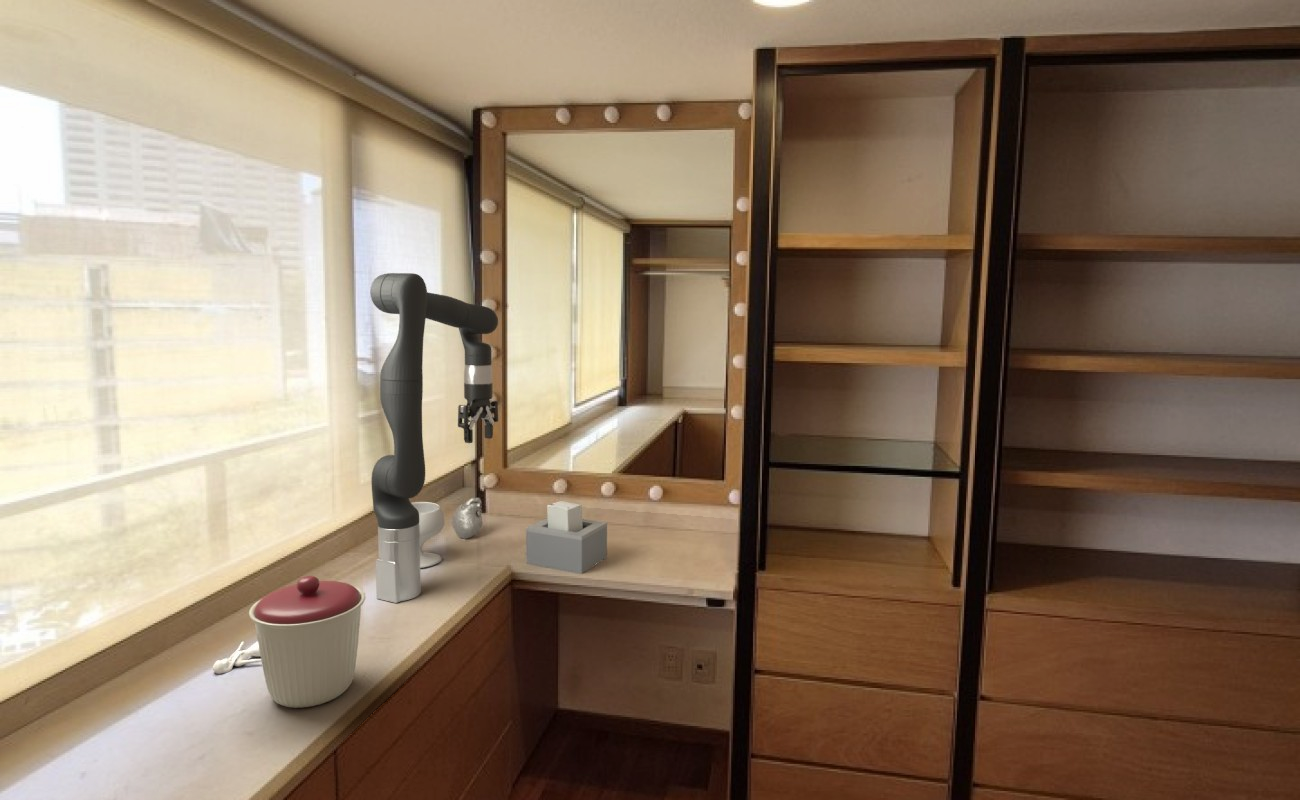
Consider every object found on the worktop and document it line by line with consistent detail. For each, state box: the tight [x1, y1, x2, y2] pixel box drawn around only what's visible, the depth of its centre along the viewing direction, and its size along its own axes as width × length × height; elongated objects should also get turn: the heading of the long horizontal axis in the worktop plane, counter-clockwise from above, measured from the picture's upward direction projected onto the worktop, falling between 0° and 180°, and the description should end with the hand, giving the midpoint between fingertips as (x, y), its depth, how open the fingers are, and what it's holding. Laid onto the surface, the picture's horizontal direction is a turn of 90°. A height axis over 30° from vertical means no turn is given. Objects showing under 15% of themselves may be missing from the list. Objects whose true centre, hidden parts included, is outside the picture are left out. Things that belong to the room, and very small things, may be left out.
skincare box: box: [546, 500, 583, 532], centre depth 192 cm, size 8×6×15 cm
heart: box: [451, 497, 483, 540], centre depth 212 cm, size 10×10×12 cm
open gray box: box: [525, 517, 608, 575], centre depth 192 cm, size 14×17×10 cm
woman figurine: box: [212, 640, 262, 675], centre depth 137 cm, size 12×4×18 cm
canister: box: [248, 575, 366, 709], centre depth 123 cm, size 18×18×21 cm
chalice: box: [411, 501, 445, 569], centre depth 189 cm, size 14×14×15 cm
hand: (478, 440), depth 194 cm, fingers open, 8 cm apart
